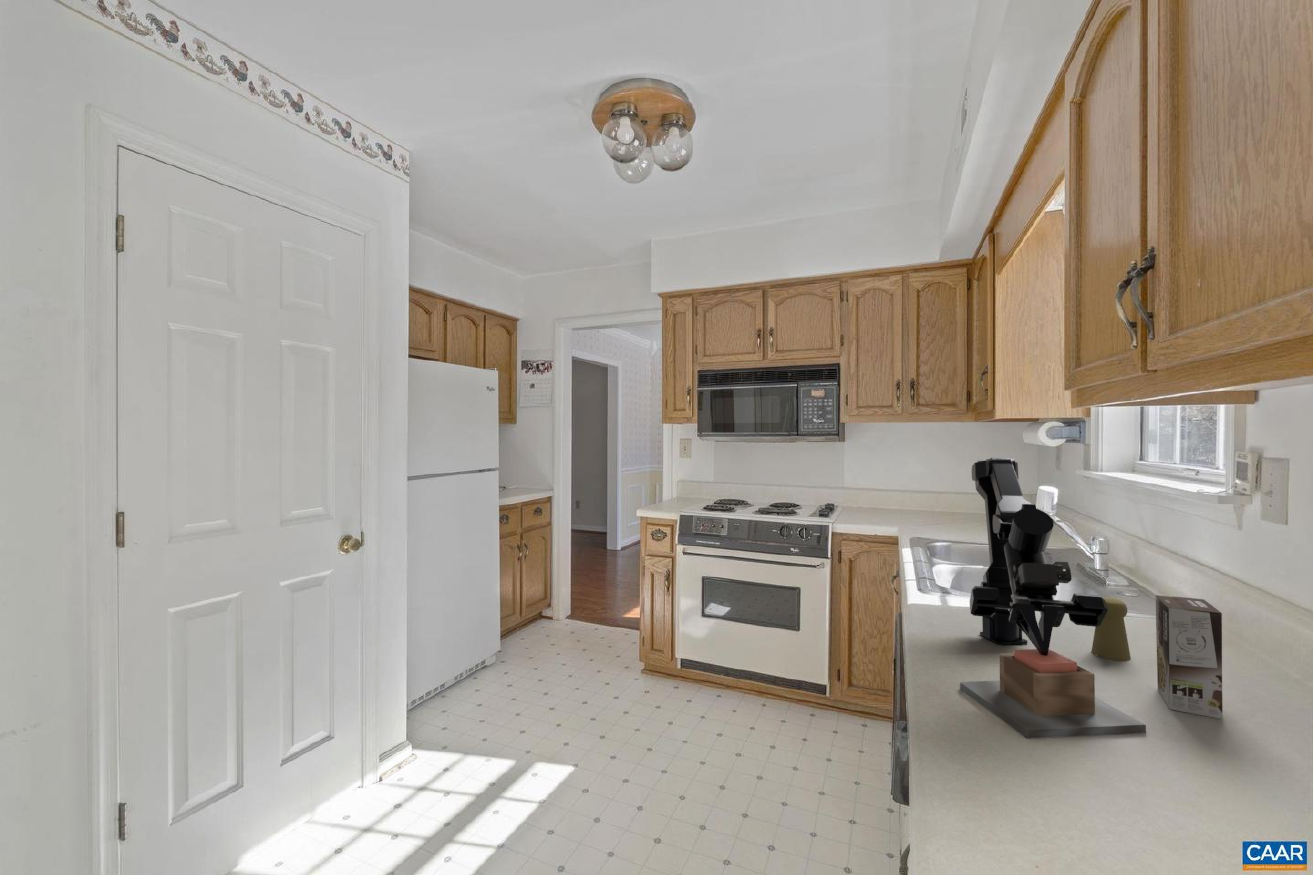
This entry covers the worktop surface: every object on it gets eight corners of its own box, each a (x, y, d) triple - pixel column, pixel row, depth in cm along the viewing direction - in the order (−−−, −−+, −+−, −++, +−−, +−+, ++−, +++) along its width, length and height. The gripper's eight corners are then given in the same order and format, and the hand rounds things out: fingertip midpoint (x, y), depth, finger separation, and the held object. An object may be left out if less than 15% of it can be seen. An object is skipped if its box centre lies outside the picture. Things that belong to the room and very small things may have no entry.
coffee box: (1225, 720, 85) (1223, 613, 85) (1168, 709, 89) (1167, 606, 89) (1207, 696, 93) (1206, 598, 93) (1155, 687, 97) (1154, 593, 97)
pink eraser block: (1048, 685, 93) (1048, 648, 93) (1077, 701, 87) (1076, 662, 87) (1014, 686, 92) (1014, 649, 92) (1041, 703, 86) (1040, 663, 86)
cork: (1095, 657, 110) (1094, 600, 110) (1088, 647, 115) (1087, 593, 115) (1134, 662, 107) (1134, 604, 107) (1126, 652, 112) (1125, 596, 113)
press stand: (1060, 685, 98) (1060, 643, 98) (1146, 732, 82) (1145, 683, 82) (960, 689, 97) (959, 646, 97) (1026, 738, 81) (1026, 687, 81)
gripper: (971, 539, 98) (982, 622, 88) (1102, 545, 91) (1132, 636, 81) (965, 574, 105) (975, 655, 95) (1086, 582, 98) (1111, 670, 88)
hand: (1044, 654), depth 90 cm, fingers closed, pressing on pink eraser block
